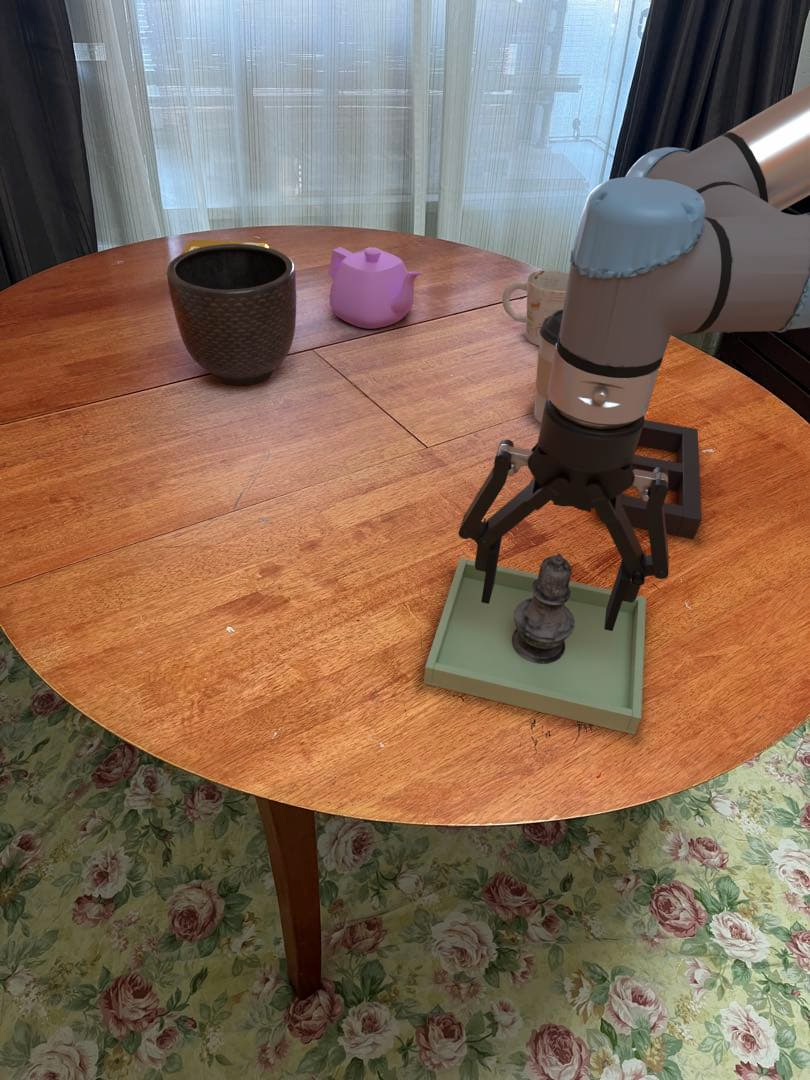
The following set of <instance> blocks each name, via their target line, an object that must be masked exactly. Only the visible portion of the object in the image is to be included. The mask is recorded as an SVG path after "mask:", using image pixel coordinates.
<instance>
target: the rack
mask: <svg viewBox="0 0 810 1080" xmlns="http://www.w3.org/2000/svg"><path fill="white" fill-rule="evenodd" d="M698 432H699V429H698V428H694V427H688V426H682V425H677V424H670V423H664V422H659V421H653V420H647V419H645V420H644V425H643V428H642V432H641V435H640V438H639V442H638V445H637V447H644V448H648V449H649V448H650V449H655V450H660V451H666V452H672V453H676V455H675V457H676V461H671V460H665V459H659V458H655V457H649V456H645V455H637V454H635V456H634V459H633V464H634V467H635V469H638V470H644V471H649V472H653V470H654V469H656V468H658V467H663V468H665V469H667V471H668V491H672V492H676V504H674V503H668V502H664V504H663V505H664V515H665V524H666V534H667V535H670V536H677V537H680V538H686V539H691V540H694V539H696V536H697V532H698V530H699V527H700V525H701V522H702V501H701V499H702V498H701V479H700V478H701V477H700V475H701V474H700V453H699V452H700V451H699V433H698ZM619 497H620V502H621V504H622V507H623V509H624V511H625V513H626V515H627V517H628V519H629V521H630V524H631V526H632V528H635V529H640V530H645V531H648V523H647V515H646V505H647V501H643V500H642V498H641V497H638V496H632V495H626V494H624V492H623V493H621V494H620V495H619ZM599 521H600V522H602V521H601V519H600V518H599Z"/></svg>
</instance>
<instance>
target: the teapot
mask: <svg viewBox="0 0 810 1080" xmlns="http://www.w3.org/2000/svg"><path fill="white" fill-rule="evenodd" d="M421 274H422V271H418V270H412V271H408V270H407V267H406V265H405V263H404V261H403V260H402V258H401V257H399V256H397V255H394V254H392V253H389V252H387V251H383V250H381V249H380V248H377V247H367V248H365V249H363V250H360V251H357V252H354V253H353V252H352V251H351V250H348V249H346V248H344V247H342V246H338V247H336V248H333V249H332V252H331V258H330V263H329V268H328V275H329V276H330V278H331V280H332V283H331V286H330V292H329V305H330V308H331V310H332V311H333V313H334V314H335V315H336V316H337V317H338V319H340V320H342V321H344V322H345V323H348V324H350V325H352V326H355V327H358V328H361V329H367V330H368V329H370V330H371V329H372V330H373V329H379V328H383V327H388V326H391V325H394V324H396V323H399V321H400V322H401V320H403V319H404V318H405V317H406V316H407V315H408V314H409V312H410V311H411V309H412V307H413V305H414V296H415V281H416V279H417V277H418V276H419V275H421Z"/></svg>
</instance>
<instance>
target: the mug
mask: <svg viewBox="0 0 810 1080" xmlns="http://www.w3.org/2000/svg"><path fill="white" fill-rule="evenodd" d="M568 278H569V273H568V272H565V271H560V270H554V269H553V270H552V269H543V270H537V271H533V272H531V273H530V274H529V275H528V276H527V279H526V280H527V282H526V281H521V280H516V281H512V282H510V284H508V285H507V287H505V288H504V291H503V293H502V298H501V302H502V306H503V308H504V311H505V312H506V313H507V315H508V316H509V317H510V319H513V320H514V321H516V322H518V323H525V338H526V340H527V341H528V342H529V343H531V344H532V345H535V346H538V347H539V346H540V341H541V334H540V328H541V327H542V325H543V322H544V320H545V319H546V318H547V317H549V316H551V315H553V314H554V313H555V312H556V311H558V310H562V309H563V308H564V302H565V296H566V290H567V284H568ZM516 290H522V291H525V292H526V317H525V316H521V315H518V314H517V313H516V312H515V311H514V310H513V308H512V306H511V303H510V302H511V301H510V298H511V295H512V294H513V293H514V292H515V291H516Z"/></svg>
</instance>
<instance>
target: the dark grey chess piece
mask: <svg viewBox="0 0 810 1080" xmlns="http://www.w3.org/2000/svg"><path fill="white" fill-rule="evenodd" d="M572 567H573V566H572V565H571V563H570V562H569V561H568V560H567V559H566V558H564V556H563V555H562V554H561V553H557V554H555V555H550V556H548V557H545V558H544V559H543V560H542V561H541V563H540V565H539V570H538V574H539V575H538V579H537V580H535V581H534V582H533V584H532V589H531V590H532V593H533V597H532V598H528V599H525V600H524V601H522V602H520V603H519V604H518V605H517V606H516V608H515V610H514V617H513V618H514V621H515V624H516V627H517V629H516V630H515V631H514V633H513V635H512V645H513V648H514V649H515V651H516V652H517V653H518V654H519V655H520V656H521V657H522V658H524V659H526V660H528V661H530V662H533V663H538V664H548V663H552V662H555V661H556V660H558V659H560V657H561V656H562V655H563V653H564V651H565V642H564V640H565V639H566V638H567V637H569V636H570V635H571V633H572V632H573V630H574V627H575V620H574V617H573V614H572V613H571V612H570V610H569V609H568V608H567V607H566V606H565V605H564V604H565V602H567V601H568V600H569V598H570V589H569V587H568V586H569V582H570V581H571V578H572V573H573V568H572Z"/></svg>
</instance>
